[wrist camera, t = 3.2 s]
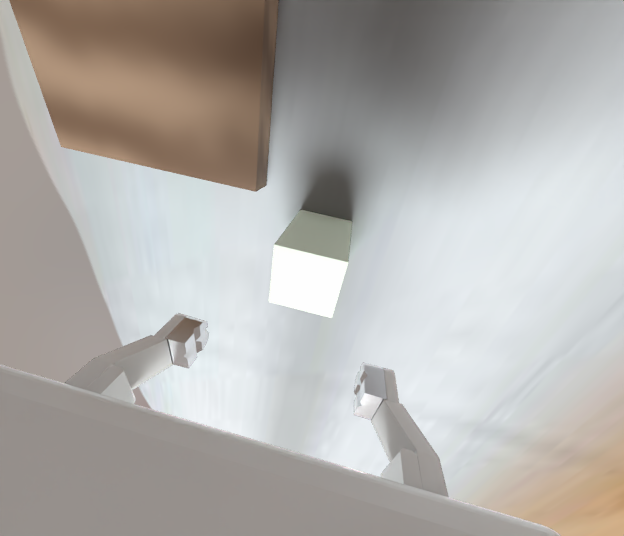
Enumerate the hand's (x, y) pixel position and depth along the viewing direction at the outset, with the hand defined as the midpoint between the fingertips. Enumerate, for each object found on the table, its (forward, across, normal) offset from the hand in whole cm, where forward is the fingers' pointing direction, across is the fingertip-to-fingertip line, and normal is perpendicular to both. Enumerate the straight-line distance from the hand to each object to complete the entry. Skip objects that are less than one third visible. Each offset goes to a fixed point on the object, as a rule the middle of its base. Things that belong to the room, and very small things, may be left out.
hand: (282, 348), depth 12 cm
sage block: (+14, 0, 0) cm, 14 cm away
